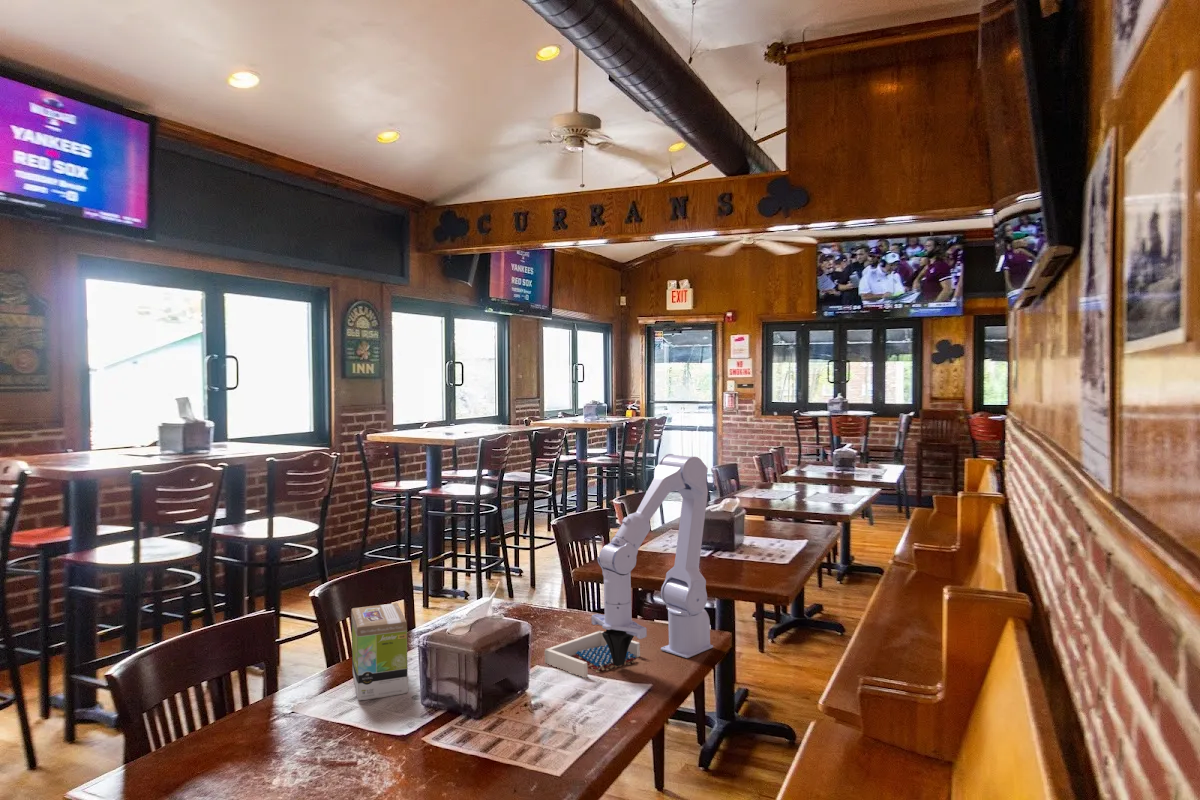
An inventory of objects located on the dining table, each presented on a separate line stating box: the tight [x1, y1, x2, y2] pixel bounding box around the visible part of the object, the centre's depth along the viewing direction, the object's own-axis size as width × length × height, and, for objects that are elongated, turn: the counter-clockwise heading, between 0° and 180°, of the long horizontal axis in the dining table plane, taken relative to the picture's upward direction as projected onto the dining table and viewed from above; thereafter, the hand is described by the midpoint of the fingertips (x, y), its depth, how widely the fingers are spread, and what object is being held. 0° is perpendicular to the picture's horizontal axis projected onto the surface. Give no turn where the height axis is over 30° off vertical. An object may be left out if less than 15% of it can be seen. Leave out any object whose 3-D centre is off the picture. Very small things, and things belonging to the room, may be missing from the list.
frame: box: [544, 630, 641, 678], centre depth 171 cm, size 17×12×3 cm
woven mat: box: [573, 644, 637, 674], centre depth 171 cm, size 10×11×2 cm
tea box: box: [350, 602, 409, 701], centre depth 160 cm, size 15×10×15 cm, turn 22°
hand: (619, 664), depth 165 cm, fingers closed
